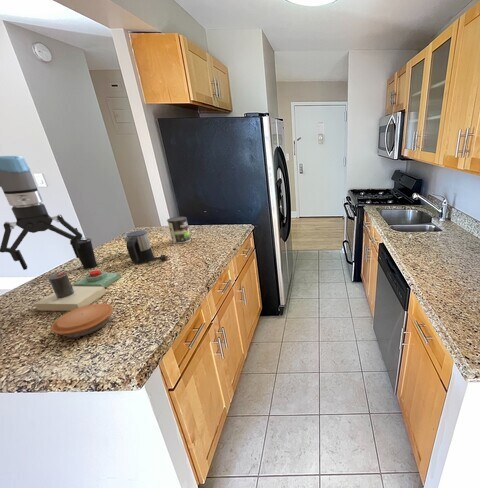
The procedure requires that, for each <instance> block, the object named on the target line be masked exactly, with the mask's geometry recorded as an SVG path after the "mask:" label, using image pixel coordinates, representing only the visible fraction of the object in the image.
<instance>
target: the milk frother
mask: <svg viewBox="0 0 480 488" xmlns="http://www.w3.org/2000/svg"><path fill="white" fill-rule="evenodd" d="M125 236H127V238H128V241H127V242H126V244H125V245H126V250H127V252H128V255H129V258H130V261H131V262H132V263H135V264H143V263H148V262H151V261H154V260H155V261H156V260H162V261H164V260H166V258H169V256H168V255H165V254H161V255H160V256H157V257H155V255H154V253H153V249H152V246H151V242H150V238H149V235H148V230H145V229H140V230H139V229H138V230H133V231H130V232H127V233H126V234H125Z"/></svg>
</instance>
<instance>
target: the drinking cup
mask: <svg viewBox="0 0 480 488" xmlns="http://www.w3.org/2000/svg"><path fill="white" fill-rule="evenodd" d="M74 228H75V229H76V230H77V231H78V232H79V229H78V228H77V227H74ZM77 241H78V243H79V246H80V248H78V249H77V251H78V254H79V258H78V260H79V262H80V263H81V265H82V267H83V269H85V270H90V269H94V268H96V267H97V266H98V264H97V259H96V256H95V251H94V248H93V243H92V239H91V238H90V237H82V238H79V239H78V240H77ZM69 245H71V243H70V242H69Z"/></svg>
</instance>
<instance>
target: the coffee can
mask: <svg viewBox="0 0 480 488" xmlns="http://www.w3.org/2000/svg"><path fill="white" fill-rule="evenodd" d="M187 219H188V218H187V217H186V216H173V217H170V218H167V220H166V221H167V225H168V230H169V233H170V237H171V241H172V243H173V244H176V245H177V244H178V245H179V244H185V243H188V242H190V241H191V240H192V239H191V234H190V229H189V224H188V220H187Z"/></svg>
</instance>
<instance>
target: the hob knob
mask: <svg viewBox="0 0 480 488" xmlns="http://www.w3.org/2000/svg"><path fill="white" fill-rule="evenodd" d="M48 281H49V284H50V287H51V288H52V291H53V293H54V292H55V295H56V297H57V298H64V297H67V296H70V295H72V294H73V293H74V290H73V287H72V286H73V284H72V283H71V281H70V278H69V276H68V273H66V272H64V271H63V272H61V273H60V272H59V273H56V274H52V275H51V276H49V277H48Z"/></svg>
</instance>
